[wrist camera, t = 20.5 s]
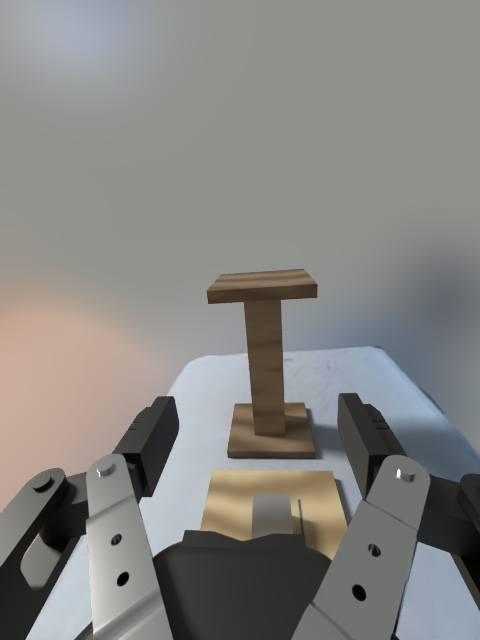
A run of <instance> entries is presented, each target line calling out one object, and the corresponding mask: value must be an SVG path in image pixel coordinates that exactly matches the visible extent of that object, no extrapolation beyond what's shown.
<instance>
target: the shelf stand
mask: <svg viewBox="0 0 480 640" xmlns="http://www.w3.org/2000/svg"><path fill="white" fill-rule="evenodd" d="M207 297H208V304H215V303H233V302H244V310H245V322H246V334H247V346H248V359H249V371H250V383H251V395H252V403H250V404H235V407H234V413H233V419H232V425H231V431H230V437H229V443H228V449H227V454H228V458H315V448H314V444H313V439H312V435H311V430H310V426H309V422H308V417H307V413H306V408H305V404H304V403H284V379H283V351H282V322H281V300H284V299H302V298H317V283H316V282H315V281H314V280H313V279H312V277H311V276H310V275H309V274H308V273H307V272H306V271H305V270H304V269H294V270H280V271H266V272H252V273H236V274H223V275H220V276H219V278H218V279H217V280H216V281H215V282H214V283H213V284H212V285H211V287H210V288H209V289H208V290H207Z"/></svg>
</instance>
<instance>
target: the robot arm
mask: <svg viewBox="0 0 480 640" xmlns="http://www.w3.org/2000/svg"><path fill="white" fill-rule="evenodd" d="M337 421H338V430H339V434H340V437H341V440H342V443H343V445H344V448H345V451H346V454H347V456H348V459H349V462H350V465H351V467H352V470H353V473H354V476H355V479H356V481H357V484H358V487H359V490H360V492H361V495H362V498H363V499H362V500H361V501H360V503H359V505H358V507H357V509H356V511H355V513H354V516H353V518H352V520H351V522H350V524H349V526H348V528H347V530H346V533H345V535H344V537H343V539H342V541H341V543H340V545H339V547H338V550H337V552H336V554H335V556H334V558H333V560H331V559H330V558H328V557H327V556H326V555H324V554H322V553H321V552H319V551H317V550H315V549H313V548H310V547H308V546H306V542H305V534H279V533H273V534H269V535H266V536H262V537H258V538H254V539H250V540H246V541H241V540H237V539H235V538H232V537H229V536H226V535H223V534H220V533H217V532H214V531H196V530H185V532H184V536H183V540H182V542H178V543H176V544H173V545H171V546H169V547H167V548H166V549H164V550H162V551H161V552H159V553H158V554H157V555H156V556H154V557H153V555H152V552H151V548H150V545H149V541H148V538H147V534H146V530H145V527H144V523H143V519H142V516H141V512H140V509H139V502H140V500H141V498H142V497H152V495H153V493H154V491H155V488H156V486H157V483H158V481H159V479H160V476H161V474H162V471H163V469H164V466H165V464H166V462H167V459H168V457H169V454H170V452H171V450H172V447H173V445H174V442H175V440H176V437H177V435H178V431H179V419H178V414H177V409H176V404H175V399H174V397H173V396H162V397H157V398H156V399H155V401H154V403H153V404H152V406H151V407H146V408H145V409H144V410H143V411H141V412H140V413H139V414H138V415H137V417H136V418H135V420H134V421H133V424H131V426H130V427H129V429H128V431H126V433H125V435H124V436H123V437H122V439H121V440H120V442H119V443H118V445H117V446H116V448H115V450H114V451H113V452H112V454H110V455H107V456H104V457H102V458H100V459H99V460H97V461H96V462H95V463H94V464H92V466H91V467H90V468H89V470H88V471H87V472H84V473H80V474H76V475H73V476H69V477H66V475H65V473H64V471H63V470H62V469H60V468H53V469H49V470H46V471H44V472H41V473H39V474H38V475H36V476H35V477H33V478H32V479H31V480H29V481H28V482H27V483H26V484H25V486H24V487H23V488H22V489H21V490H20V491H19V493H18V494H17V495H16V496H15V497H14V499H13V500H12V501H11V502H10V503H9V504H8V505H7V507H6V508H5V509H4V510H3V511H2V512H1V513H0V640H25V639H26V637H27V636H28V634H29V632H30V630H31V628H32V626H33V624H34V623H35V621H36V619H37V617H38V615H39V613H40V611H41V610H42V608H43V606H44V604H45V602H46V600H47V598H48V597H49V595H50V593H51V591H52V589H53V587H54V585H55V583H56V582H57V580H58V578H59V576H60V574H61V572H62V570H63V569H64V567H65V565H66V563H67V561H68V559H69V557H70V556H71V554H72V552H73V550H74V548H75V546H76V544H77V543H78V541H79V539H80V537H81V536H82V535H85V534H87V549H88V563H89V577H90V592H91V606H92V622H91V623H90V624H89V625H88V626H87V627H86V628H85V629H84V630H83V631H82V632H81V633H80V634H79V635H78V636H77V637H76V638H75V639H74V640H399V639H398V637H397V636H396V632H397V628H398V624H399V620H400V615H401V611H402V607H403V602H404V598H405V593H406V589H407V585H408V581H409V577H410V573H411V568H412V564H413V560H414V556H415V552H416V548H417V544H418V542H421V543H424V544H426V545H429V546H432V547H435V548H438V549H441V550H443V551H446V552H449V553H450V554H451V556H452V558H453V560H454V562H455V564H456V566H457V568H458V570H459V572H460V574H461V576H462V578H463V579H464V581H465V583H466V585H467V587H468V589H469V591H470V593H471V595H472V597H473V599H474V601H475V603H476V605H477V607H478V609H479V611H480V474H466V475H464V476H463V477H462V478H461V480H460V483H458V482H454V481H450V480H446V479H443V478H439V477H436V476H433V475H430V474H428V472H427V470H426V469H425V468H424V467H423V466H422V465H421V464H419V463H418V462H417V461H415V460H413V459H411V458H409V457H408V456H407V455H406V453H405V451H404V450H403V448H402V447H401V445H400V443H399V442H398V440H397V439H396V437H395V435H394V434H393V432H392V431H391V430H390V427H389V426H388V424H387V423H386V422H385V419H384V418H383V416H382V414H381V413H380V411H378V410H377V409H376V408H375V407H373V406H372V405H371V404H363V403H362V401H361V400H360V398H359V396H358V394H357V393H340V394H339V398H338V420H337ZM38 533H39V536H38V537H37V539H36V540H35V542H34V543H33V545H32V547H31V548H30V549H29V551H28V552H27V554H26V555H25V557H24V558H23V556H24V554H25V552H26V550H27V549H28V547H29V546H30V545H31V543H32V542H33V540H34V539H35V537H36V536H37V534H38Z"/></svg>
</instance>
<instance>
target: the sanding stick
mask: <svg viewBox="0 0 480 640" xmlns="http://www.w3.org/2000/svg"><path fill="white" fill-rule="evenodd" d="M273 533H279V534H293V524H292V514H291V503H290V494H256V493H253V509H252V534H251V539H254V538H258V537H262V536H266V535H269V534H273Z"/></svg>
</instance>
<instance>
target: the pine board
mask: <svg viewBox="0 0 480 640" xmlns="http://www.w3.org/2000/svg"><path fill="white" fill-rule="evenodd" d="M253 493H256V494H290V503H291V514H292V524H293V534H305V542H306V546H308V547H310V548H313V549H315V550H317V551H319V552H321V553H322V554H324V555H326V556H327V557H328V558H330V559H331V560H333V558H334V556H335V554H336V552H337V550H338V547H339V545H340V543H341V541H342V539H343V537H344V535H345V533H346V530H347V528H348V526H347V523H346V519H345V515H344V512H343V508H342V505H341V501H340V497H339V494H338V490H337V487H336V483H335V479H334V476H333V472H332V471H270V470H213V471H212V476H211V480H210V485H209V490H208V495H207V499H206V504H205V509H204V514H203V518H202V523H201V528H200V531H214V532H217V533H220V534H223V535H226V536H229V537H232V538H235V539H237V540H241V541H246V540H250V539H251V534H252V509H253Z"/></svg>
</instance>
